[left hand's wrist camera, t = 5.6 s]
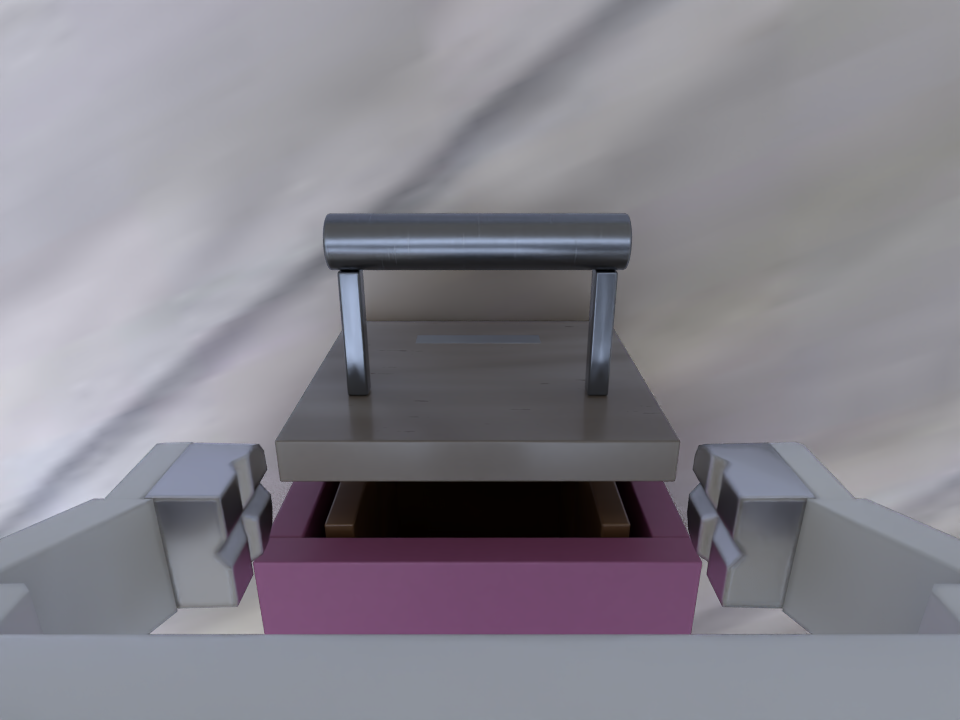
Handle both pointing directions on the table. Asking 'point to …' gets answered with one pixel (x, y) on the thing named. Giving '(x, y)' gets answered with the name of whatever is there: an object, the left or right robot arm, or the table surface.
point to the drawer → (477, 391)
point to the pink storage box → (478, 576)
